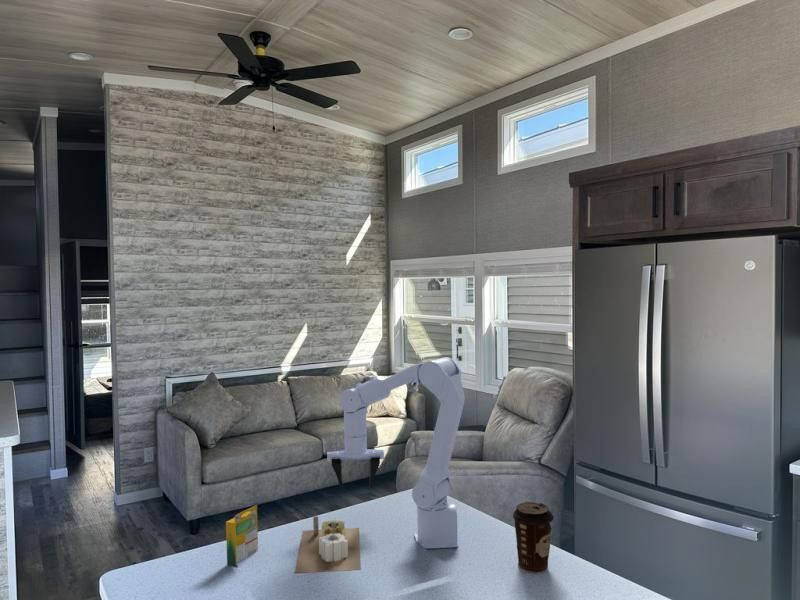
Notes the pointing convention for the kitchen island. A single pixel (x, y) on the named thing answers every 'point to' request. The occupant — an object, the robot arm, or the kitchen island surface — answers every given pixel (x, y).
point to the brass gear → (333, 528)
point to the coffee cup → (533, 536)
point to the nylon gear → (333, 547)
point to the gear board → (312, 559)
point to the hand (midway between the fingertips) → (356, 487)
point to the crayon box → (242, 536)
